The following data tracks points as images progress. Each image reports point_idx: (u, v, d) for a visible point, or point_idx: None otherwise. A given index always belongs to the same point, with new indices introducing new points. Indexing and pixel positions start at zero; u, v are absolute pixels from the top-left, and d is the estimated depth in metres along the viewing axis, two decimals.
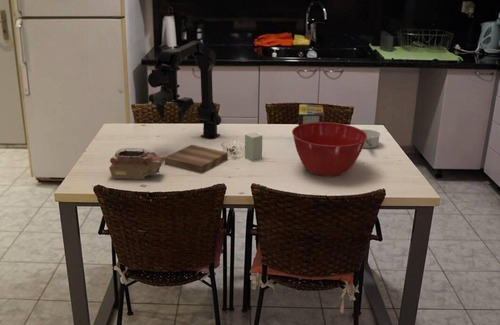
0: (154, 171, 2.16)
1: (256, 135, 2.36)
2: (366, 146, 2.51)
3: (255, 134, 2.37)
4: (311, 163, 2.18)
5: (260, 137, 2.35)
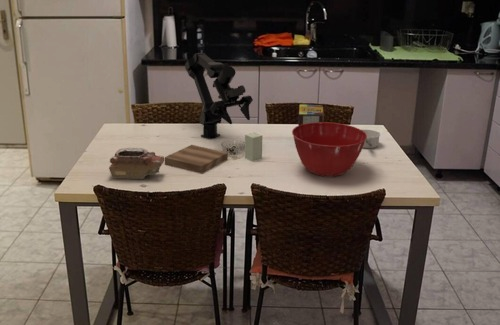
0: (154, 171, 2.16)
1: (256, 135, 2.36)
2: (366, 146, 2.51)
3: (255, 134, 2.37)
4: (311, 163, 2.18)
5: (260, 137, 2.35)
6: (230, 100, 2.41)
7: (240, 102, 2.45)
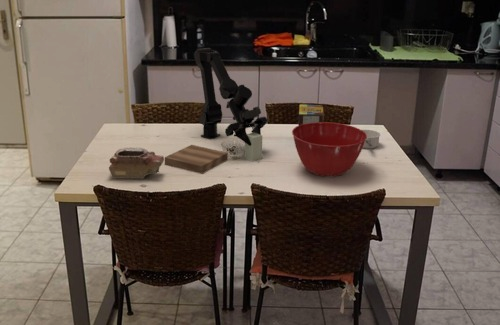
0: (154, 171, 2.16)
1: (256, 135, 2.36)
2: (366, 146, 2.51)
3: (255, 134, 2.37)
4: (311, 163, 2.18)
5: (260, 137, 2.35)
6: (245, 122, 2.37)
7: (251, 124, 2.39)
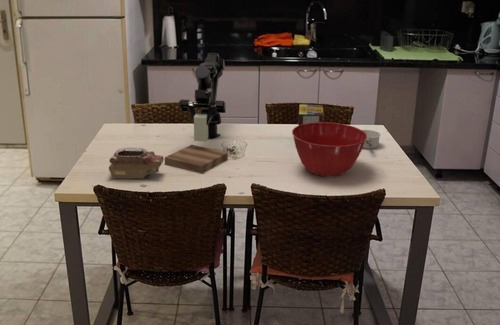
0: (154, 170, 2.16)
1: (201, 116, 2.36)
2: (366, 146, 2.50)
3: (203, 115, 2.37)
4: (311, 163, 2.18)
5: (203, 118, 2.35)
6: (199, 101, 2.39)
7: (208, 106, 2.40)
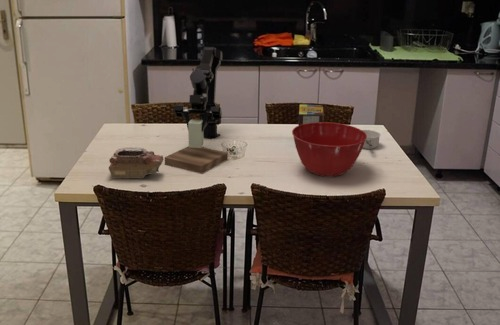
0: (154, 170, 2.16)
1: (196, 122, 2.28)
2: (366, 147, 2.50)
3: (198, 121, 2.29)
4: (311, 163, 2.18)
5: (198, 125, 2.27)
6: (194, 107, 2.31)
7: (203, 111, 2.32)
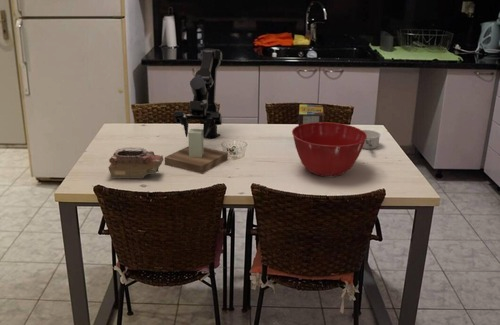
0: (153, 170, 2.16)
1: (196, 131, 2.29)
2: (366, 147, 2.50)
3: (198, 131, 2.30)
4: (311, 163, 2.18)
5: (198, 134, 2.28)
6: (194, 113, 2.32)
7: (206, 117, 2.32)
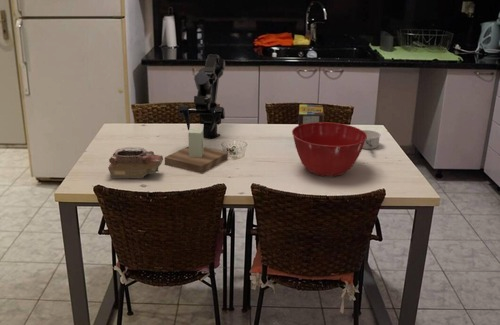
0: (153, 170, 2.16)
1: (196, 131, 2.29)
2: (366, 147, 2.50)
3: (198, 131, 2.30)
4: (311, 163, 2.18)
5: (198, 134, 2.28)
6: (198, 107, 2.40)
7: (212, 112, 2.40)
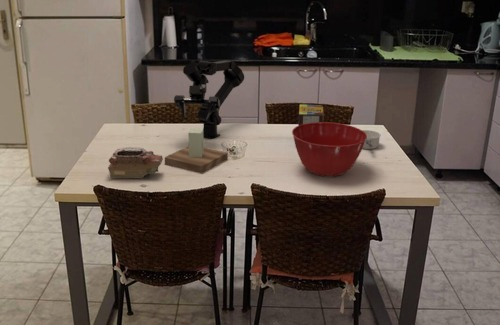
0: (153, 170, 2.16)
1: (196, 131, 2.29)
2: (366, 147, 2.50)
3: (198, 131, 2.30)
4: (311, 163, 2.18)
5: (198, 134, 2.28)
6: (194, 97, 2.45)
7: (207, 101, 2.45)
